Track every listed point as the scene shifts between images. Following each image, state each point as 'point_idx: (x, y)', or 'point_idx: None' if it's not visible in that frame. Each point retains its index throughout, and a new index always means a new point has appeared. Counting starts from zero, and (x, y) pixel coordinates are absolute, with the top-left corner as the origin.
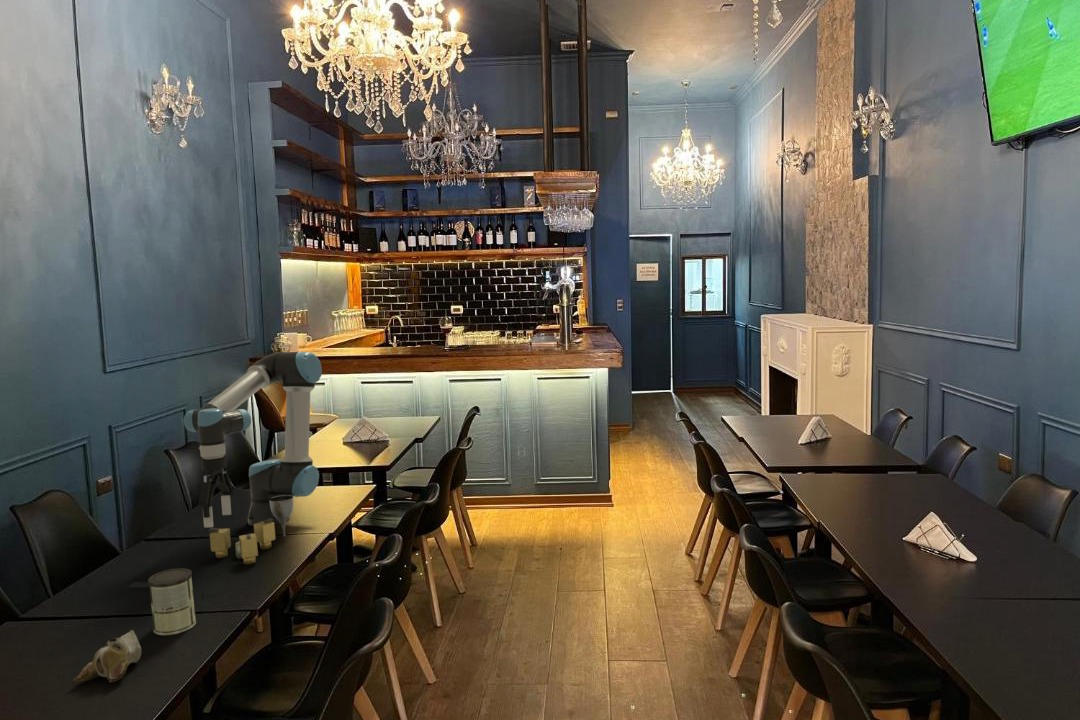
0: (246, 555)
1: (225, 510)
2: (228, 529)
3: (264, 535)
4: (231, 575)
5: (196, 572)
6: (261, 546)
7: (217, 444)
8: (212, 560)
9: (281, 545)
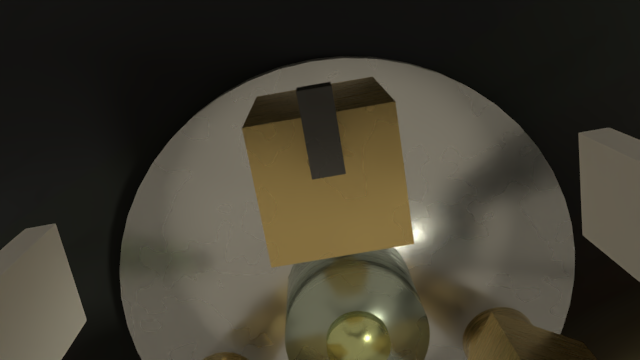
0: None
1: (610, 198)
2: (387, 247)
3: None
4: (82, 337)
5: (82, 81)
6: (470, 341)
7: None
8: (314, 50)
9: (605, 356)
